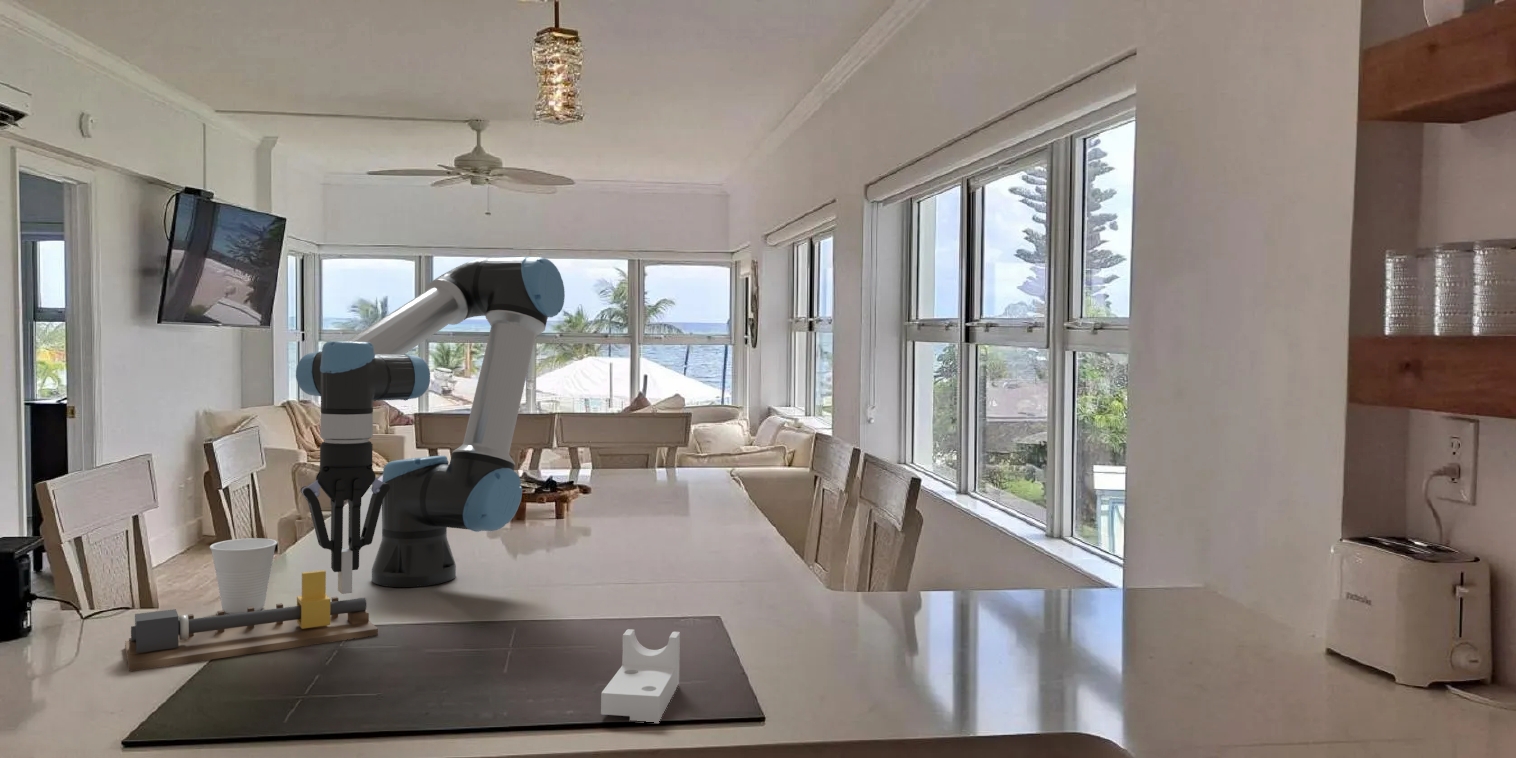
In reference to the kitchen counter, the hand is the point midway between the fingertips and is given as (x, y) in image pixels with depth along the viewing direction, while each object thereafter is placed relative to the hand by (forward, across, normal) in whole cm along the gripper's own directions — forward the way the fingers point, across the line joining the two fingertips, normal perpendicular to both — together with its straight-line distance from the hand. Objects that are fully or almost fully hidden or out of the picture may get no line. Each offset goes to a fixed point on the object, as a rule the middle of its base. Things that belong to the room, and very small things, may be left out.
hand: (344, 591), depth 151 cm
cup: (+6, +11, -20) cm, 24 cm away
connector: (+5, +24, 0) cm, 25 cm away
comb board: (+6, +12, 0) cm, 14 cm away
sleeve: (+4, +5, 0) cm, 6 cm away
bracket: (+7, -24, +52) cm, 58 cm away
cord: (+3, +13, 0) cm, 13 cm away
